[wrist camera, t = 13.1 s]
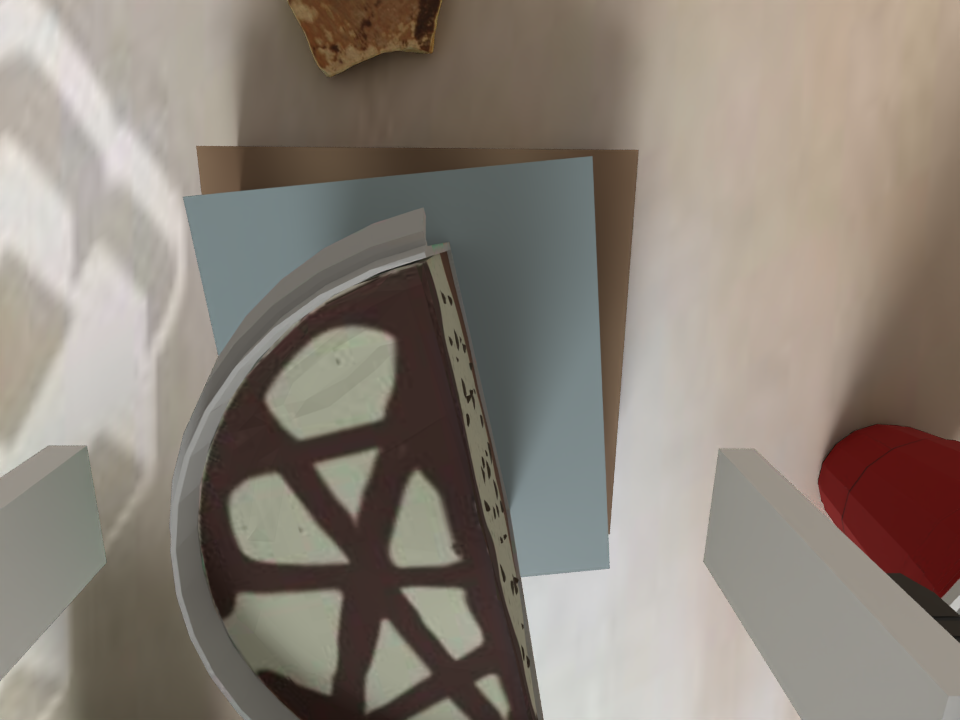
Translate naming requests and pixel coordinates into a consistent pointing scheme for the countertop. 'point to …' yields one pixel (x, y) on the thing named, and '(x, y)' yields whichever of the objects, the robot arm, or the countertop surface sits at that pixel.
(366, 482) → the food container
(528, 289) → the top slab
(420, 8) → the toasted sandwich half
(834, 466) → the plastic cup
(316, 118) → the countertop surface
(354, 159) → the base slab
